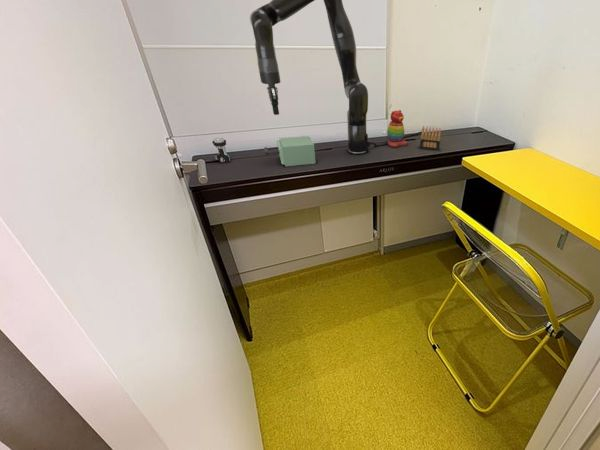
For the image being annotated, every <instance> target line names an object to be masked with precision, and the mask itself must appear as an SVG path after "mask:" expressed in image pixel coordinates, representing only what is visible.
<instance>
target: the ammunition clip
mask: <svg viewBox="0 0 600 450" xmlns="http://www.w3.org/2000/svg"><path fill="white" fill-rule="evenodd" d="M421 132H422V133H420V141H419V142H420V143H419V149H422V150H423V149H424V150H431V151H440V144H441V137H442V136H441V135H442V128H441V127H439V129H438V127H436V128H435V127H434V126H433V127H431V126H429V127H428V126H426V127H425V126H424V125H423V126H422V128H421Z"/></svg>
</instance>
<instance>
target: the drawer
mask: <svg viewBox="0 0 600 450" xmlns="http://www.w3.org/2000/svg"><path fill="white" fill-rule="evenodd" d="M276 144H277V147H275V146H274V147H267V146H265V147H264V148H263V149H264V154H265V155H266V156H269V155H272V154H274V155H275V154H278V156H279V159H280V163H281V165H284V164H285V163H284V157H283V150H282V146H281V143H280V141H279V140H276ZM269 150H270V151H269ZM271 150H277V151H271Z"/></svg>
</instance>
